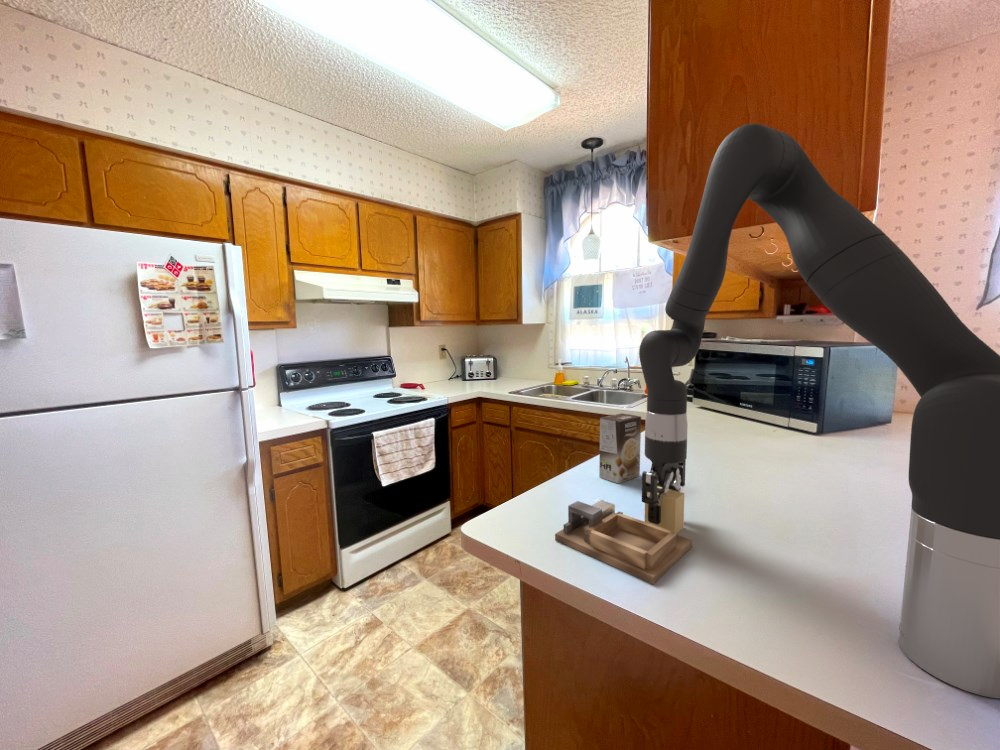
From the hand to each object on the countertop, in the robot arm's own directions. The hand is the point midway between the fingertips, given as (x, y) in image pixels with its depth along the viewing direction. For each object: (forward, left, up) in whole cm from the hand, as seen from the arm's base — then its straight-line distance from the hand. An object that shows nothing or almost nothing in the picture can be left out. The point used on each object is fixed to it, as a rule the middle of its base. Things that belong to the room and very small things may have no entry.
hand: (663, 515), depth 80 cm
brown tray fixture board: (+2, +12, -2) cm, 12 cm away
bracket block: (0, 0, -2) cm, 2 cm away
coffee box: (+20, -18, -2) cm, 27 cm away
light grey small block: (+8, +9, -1) cm, 12 cm away
